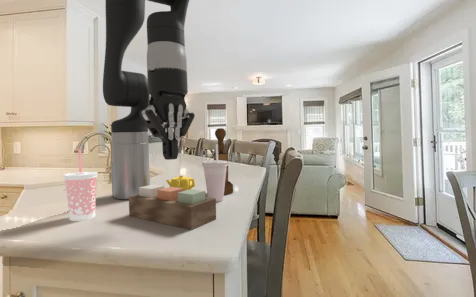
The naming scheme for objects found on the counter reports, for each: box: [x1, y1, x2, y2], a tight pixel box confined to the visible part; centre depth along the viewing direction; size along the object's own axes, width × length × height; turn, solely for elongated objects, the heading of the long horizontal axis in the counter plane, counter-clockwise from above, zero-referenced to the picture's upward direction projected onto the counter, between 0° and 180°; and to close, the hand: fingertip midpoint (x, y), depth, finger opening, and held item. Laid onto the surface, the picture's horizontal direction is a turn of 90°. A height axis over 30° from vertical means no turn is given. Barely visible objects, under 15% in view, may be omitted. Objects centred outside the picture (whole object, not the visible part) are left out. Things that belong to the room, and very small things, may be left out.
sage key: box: [178, 188, 206, 204], centre depth 54 cm, size 4×4×3 cm
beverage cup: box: [62, 148, 99, 222], centre depth 58 cm, size 6×6×14 cm
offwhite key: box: [139, 184, 165, 198], centre depth 60 cm, size 4×4×3 cm
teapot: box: [166, 175, 196, 191], centre depth 79 cm, size 8×6×5 cm
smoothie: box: [201, 143, 229, 203], centre depth 71 cm, size 6×6×14 cm
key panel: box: [128, 194, 217, 230], centre depth 57 cm, size 17×7×4 cm, turn 58°
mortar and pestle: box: [213, 127, 234, 196], centre depth 79 cm, size 7×6×18 cm
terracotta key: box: [157, 186, 184, 201], centre depth 57 cm, size 4×4×3 cm
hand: (170, 159), depth 56 cm, fingers closed
